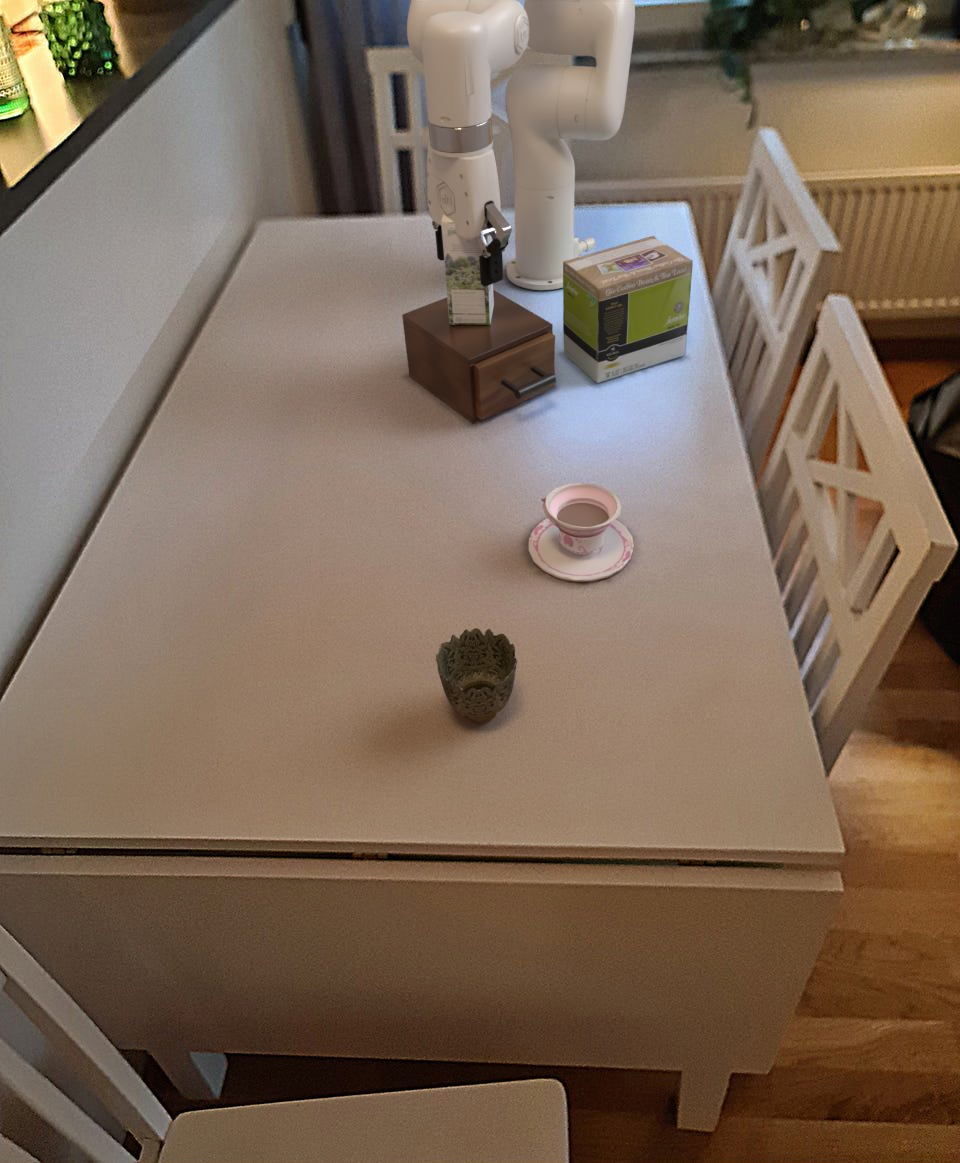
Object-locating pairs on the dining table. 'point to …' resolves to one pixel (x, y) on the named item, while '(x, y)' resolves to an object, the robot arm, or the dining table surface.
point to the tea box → (626, 307)
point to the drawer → (514, 375)
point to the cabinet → (463, 347)
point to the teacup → (581, 534)
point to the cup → (477, 673)
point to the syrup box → (465, 278)
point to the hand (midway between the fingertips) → (469, 269)
